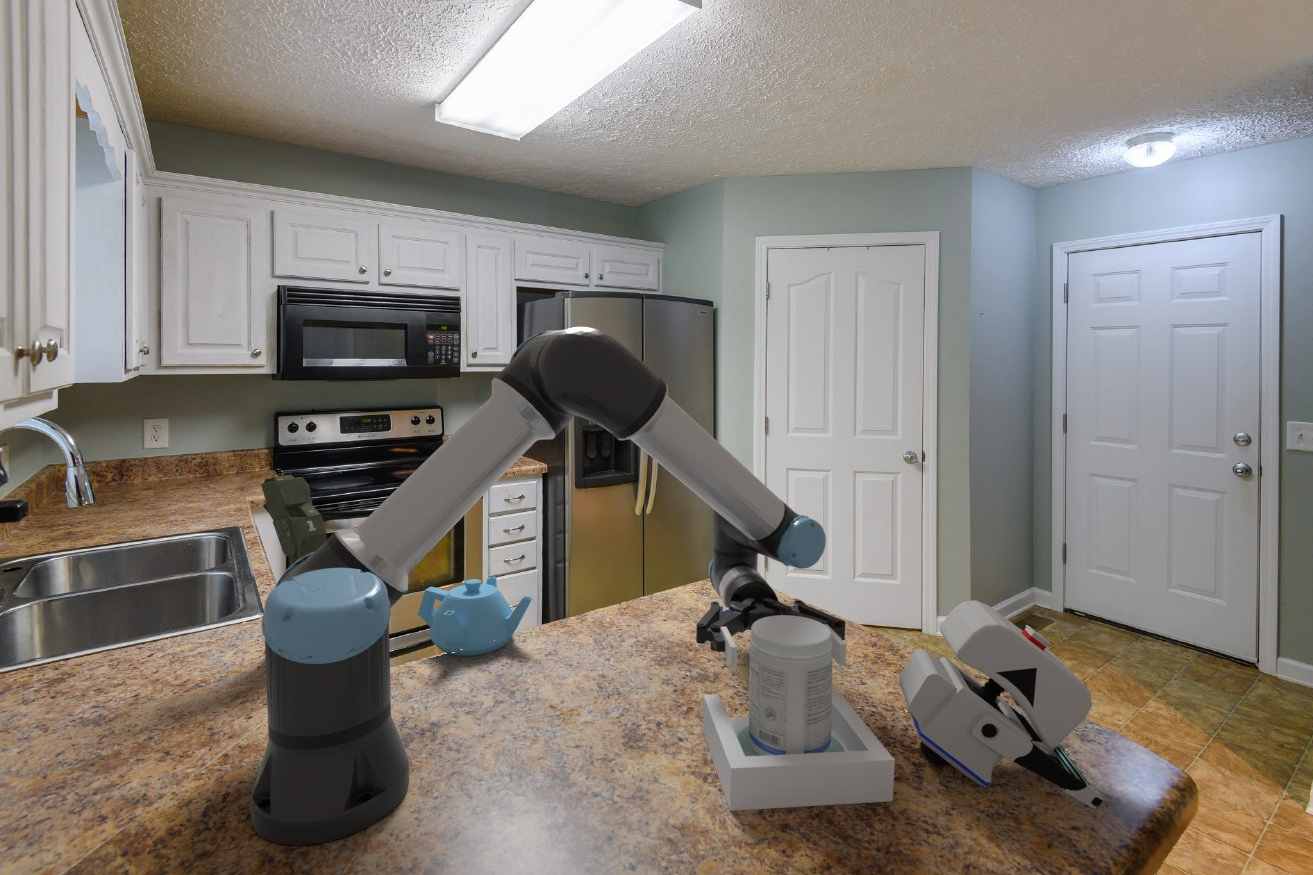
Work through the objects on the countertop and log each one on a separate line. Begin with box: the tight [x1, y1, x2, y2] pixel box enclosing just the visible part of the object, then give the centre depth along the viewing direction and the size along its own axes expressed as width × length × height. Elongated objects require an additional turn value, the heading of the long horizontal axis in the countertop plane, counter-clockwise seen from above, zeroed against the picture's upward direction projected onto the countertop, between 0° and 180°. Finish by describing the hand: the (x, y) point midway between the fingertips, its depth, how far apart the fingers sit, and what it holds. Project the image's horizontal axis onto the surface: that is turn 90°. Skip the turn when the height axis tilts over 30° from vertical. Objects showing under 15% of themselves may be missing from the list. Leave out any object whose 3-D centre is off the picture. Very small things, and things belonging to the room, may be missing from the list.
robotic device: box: [898, 600, 1104, 809], centre depth 76 cm, size 10×21×20 cm
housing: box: [702, 689, 896, 812], centre depth 77 cm, size 18×16×5 cm
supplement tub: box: [748, 615, 833, 756], centre depth 76 cm, size 10×10×15 cm
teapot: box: [417, 576, 533, 657], centre depth 111 cm, size 15×15×11 cm
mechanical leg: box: [260, 474, 327, 567], centre depth 106 cm, size 14×7×30 cm, turn 57°
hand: (788, 656), depth 79 cm, fingers open, 13 cm apart
